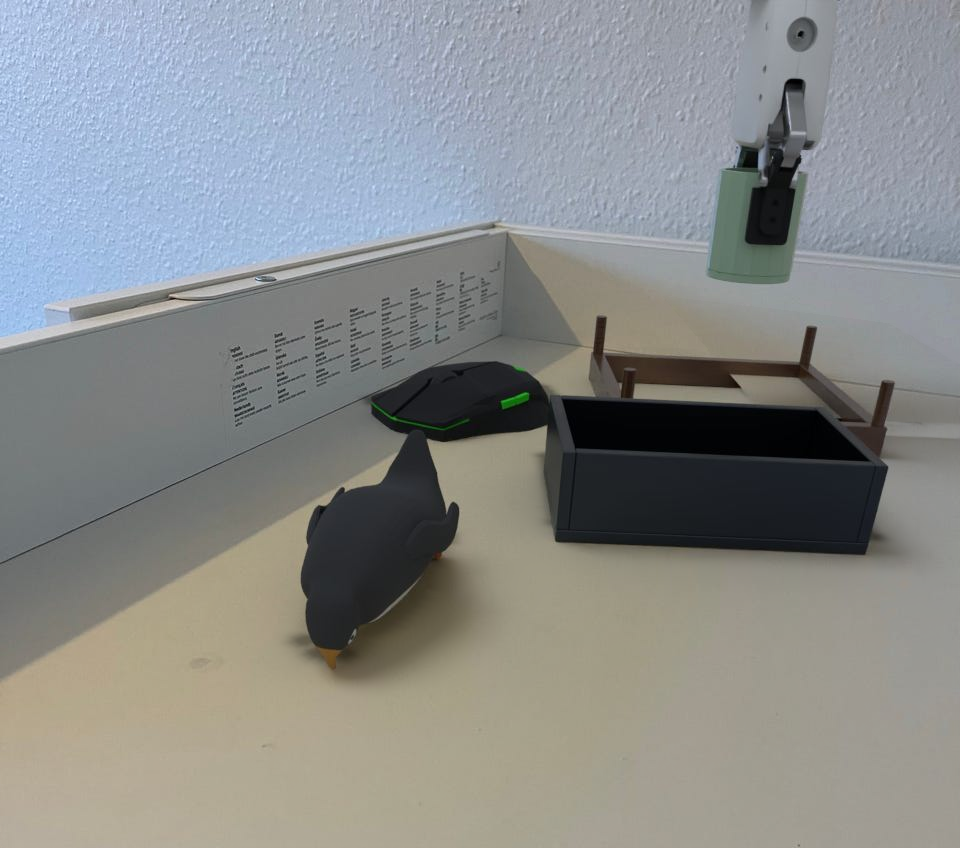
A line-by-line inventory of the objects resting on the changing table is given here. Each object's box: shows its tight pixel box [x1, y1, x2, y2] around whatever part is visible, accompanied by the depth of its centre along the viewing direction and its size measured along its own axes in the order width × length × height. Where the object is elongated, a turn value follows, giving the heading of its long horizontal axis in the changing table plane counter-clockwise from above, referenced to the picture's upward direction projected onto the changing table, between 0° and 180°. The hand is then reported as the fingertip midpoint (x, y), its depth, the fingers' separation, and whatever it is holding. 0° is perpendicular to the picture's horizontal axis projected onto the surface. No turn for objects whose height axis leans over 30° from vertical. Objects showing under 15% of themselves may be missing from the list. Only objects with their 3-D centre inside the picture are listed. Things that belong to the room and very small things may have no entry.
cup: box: [705, 166, 810, 285], centre depth 80 cm, size 7×7×8 cm
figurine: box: [300, 430, 460, 670], centre depth 51 cm, size 7×10×15 cm
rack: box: [588, 314, 896, 459], centre depth 87 cm, size 21×21×6 cm
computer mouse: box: [370, 360, 550, 442], centre depth 83 cm, size 11×16×4 cm
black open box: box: [543, 394, 889, 555], centre depth 66 cm, size 20×13×6 cm, turn 90°
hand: (753, 236), depth 80 cm, fingers closed on cup, 6 cm apart
